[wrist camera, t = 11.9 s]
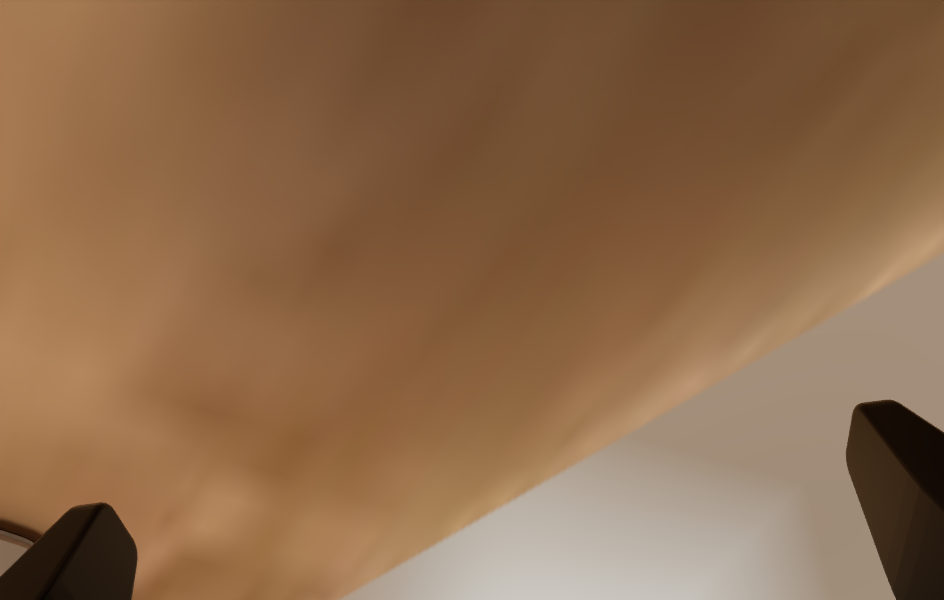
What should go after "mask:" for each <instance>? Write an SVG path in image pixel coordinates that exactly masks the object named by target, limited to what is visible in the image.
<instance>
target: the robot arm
mask: <svg viewBox="0 0 944 600" xmlns="http://www.w3.org/2000/svg"><path fill="white" fill-rule="evenodd" d="M846 462H847V467H848V471H849V474H850V476H851V479H852V482H853V485H854V488H855V490H856V493H857V496H858V498H859V501H860V504H861V507H862V510H863V513H864V515H865V518H866V521H867V524H868V526H869V529H870V532H871V535H872V537H873V540H874V543H875V545H876V548H877V551H878V554H879V557H880V560H881V562H882V565H883V568H884V571H885V573H886V576H887V578H888V581H889V584H890V586H891V589H892V591H893V593H894V596H895V598H896V600H944V432H943V431H941V430H940V429H938V428H937V427H935V426H933V425H932V424H930V423H929V422H927V421H926V420H924V419H923V418H921V417H920V416H918V415H916V414H915V413H914V412H912V411H911V410H909V409H908V408H906V407H905V406H903V405H902V404H900V403H898V402H896V401H893V400H881V401H873V402H865V403H860V404H858V405H857V406H856V407H855V408H854V410H853V414H852V419H851V425H850V431H849V437H848V442H847V448H846ZM136 567H137V548H136V545H135V542H134V540H133V538H132V537H131V535H130V534H129V532H128V531H127V529H126V528H125V526H124V524H123V523H122V521H121V520H120V518H119V517H118V515H117V514H116V512H115V511H114V509H113V508H112V507H111V506H110V505H108V504H107V503H102V502H100V503H93V504H85V505H78V506H75V507H73V508H71V509H69V510H68V511H67V512H66V513H65V514H64V515H63V516H62V517H61V518H60V519H59V520H58V521H57V522H56V523H55V524H53V525H52V526H51V527H50V528H49V529H48V530H47V531H46V532H45V533H44V534H43V535H42V536H41V537H40V538H39V539H38V540H37V541H36V542H35V543H34V544H33V545H32V546H31V547H30V548H29V549H28V550H27V551H26V552H25V553H24V554H23V555H22V556H21V557H20V558H19V559H18V560H17V561H15V562H14V563H13V564H12V565H11V566H10V567H9V568H8V569H7V570H6V571H5V572H4V573H3V574H2V575H1V576H0V600H132V594H133V587H134V580H135V573H136Z"/></svg>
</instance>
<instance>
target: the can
mask: <svg viewBox="0 0 944 600" xmlns="http://www.w3.org/2000/svg"><path fill="white" fill-rule="evenodd" d="M33 544H34V543H33V542H31V541H29V540H28V539H26V538H23V537H20V536H17V535H14V534H11V533H8V532H5V531H2V530H0V576H1V575H2V574H3V573H4V572H5V571H6V570H7V569H8V568H9V567H10V566H11V565H12V564H13V563H14V562H15V561H17V560H18V559H19V558H20V557H21V556H22V555H23V554H24V553H25V552H26V551H27V550H28V549H29V548H30V547H31V546H32V545H33Z"/></svg>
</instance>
